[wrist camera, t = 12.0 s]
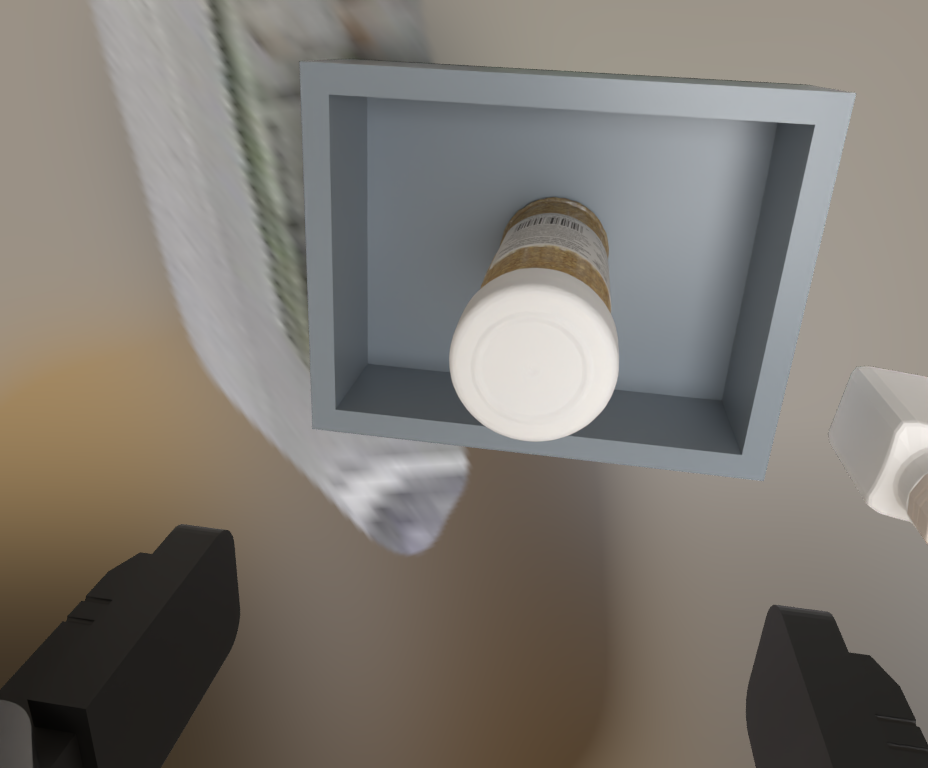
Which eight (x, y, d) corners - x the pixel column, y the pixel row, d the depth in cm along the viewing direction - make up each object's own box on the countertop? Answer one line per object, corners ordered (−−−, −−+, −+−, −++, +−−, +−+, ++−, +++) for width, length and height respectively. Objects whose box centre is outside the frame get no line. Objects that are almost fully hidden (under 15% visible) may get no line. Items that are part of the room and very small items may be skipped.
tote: (349, 58, 32) (299, 61, 26) (807, 84, 29) (856, 93, 24) (353, 373, 37) (312, 428, 32) (736, 413, 35) (763, 480, 30)
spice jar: (488, 282, 33) (426, 418, 21) (519, 179, 32) (471, 263, 19) (589, 314, 33) (586, 468, 21) (627, 213, 31) (646, 317, 19)
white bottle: (910, 456, 35) (1015, 590, 26) (820, 438, 35) (894, 566, 26) (945, 375, 33) (1070, 491, 24) (850, 358, 33) (940, 466, 25)
